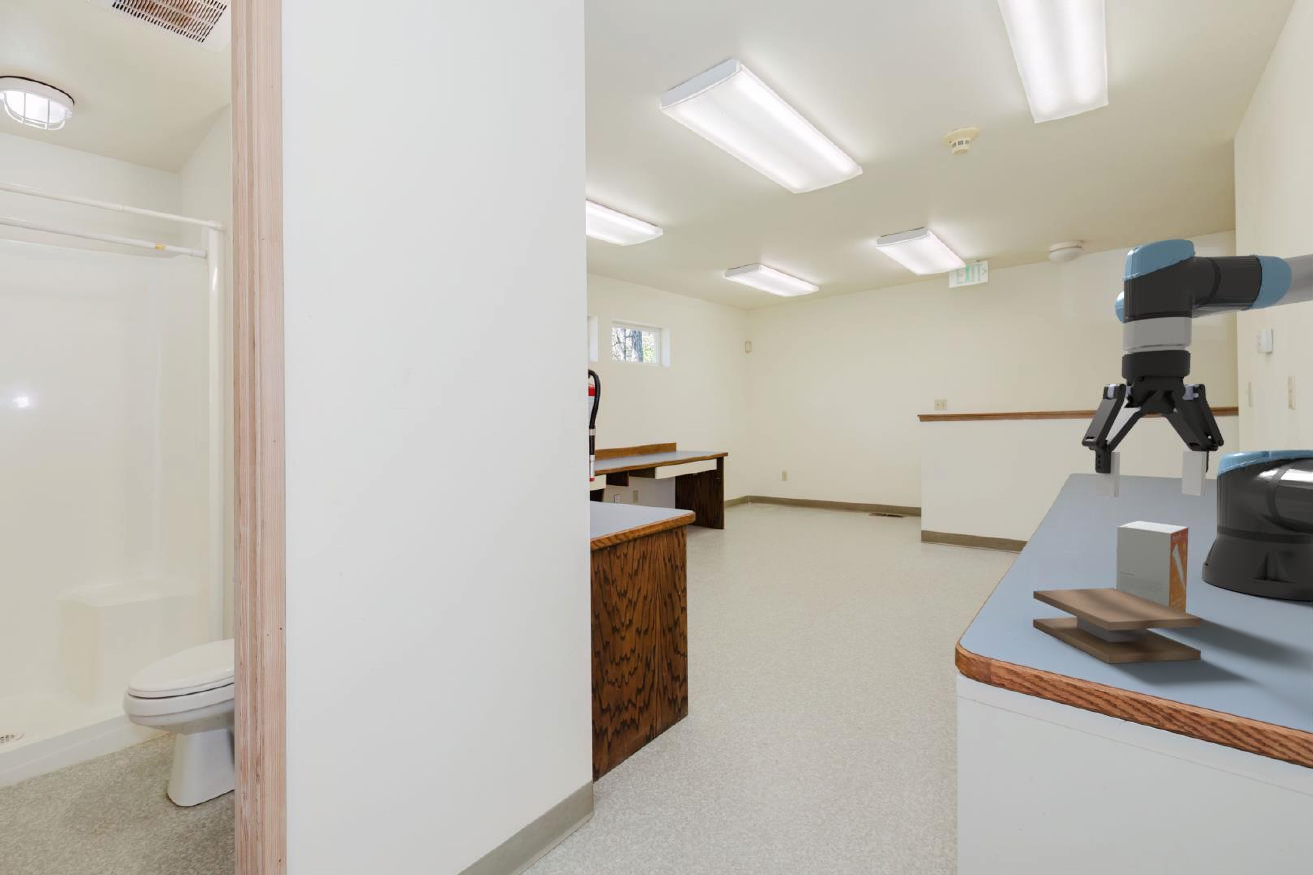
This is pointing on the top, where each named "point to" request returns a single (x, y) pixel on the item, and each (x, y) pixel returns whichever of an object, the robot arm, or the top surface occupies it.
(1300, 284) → the robot arm
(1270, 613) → the top surface
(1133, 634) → the stand
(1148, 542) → the small box
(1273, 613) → the top surface
